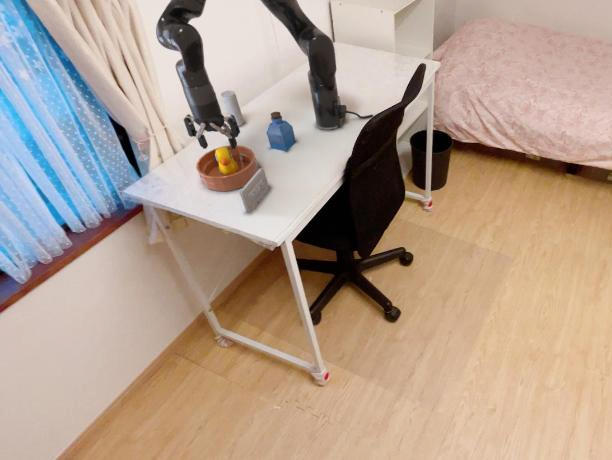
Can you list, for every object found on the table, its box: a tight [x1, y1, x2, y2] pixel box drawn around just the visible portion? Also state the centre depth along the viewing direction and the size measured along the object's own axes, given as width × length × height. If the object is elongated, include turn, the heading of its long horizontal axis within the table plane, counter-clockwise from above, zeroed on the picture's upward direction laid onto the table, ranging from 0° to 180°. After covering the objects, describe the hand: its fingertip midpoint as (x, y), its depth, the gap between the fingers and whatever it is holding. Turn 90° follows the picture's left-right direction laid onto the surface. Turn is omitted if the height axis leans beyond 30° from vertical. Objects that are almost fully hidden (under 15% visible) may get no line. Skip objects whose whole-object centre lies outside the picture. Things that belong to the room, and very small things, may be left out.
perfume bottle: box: [265, 111, 297, 152], centre depth 146 cm, size 6×6×12 cm
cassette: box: [239, 167, 270, 213], centre depth 126 cm, size 12×2×8 cm, turn 166°
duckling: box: [215, 146, 238, 176], centre depth 134 cm, size 11×5×10 cm, turn 25°
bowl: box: [195, 144, 260, 192], centre depth 136 cm, size 17×17×6 cm
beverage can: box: [220, 90, 245, 127], centre depth 155 cm, size 5×5×12 cm
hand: (220, 147), depth 130 cm, fingers open, 8 cm apart
